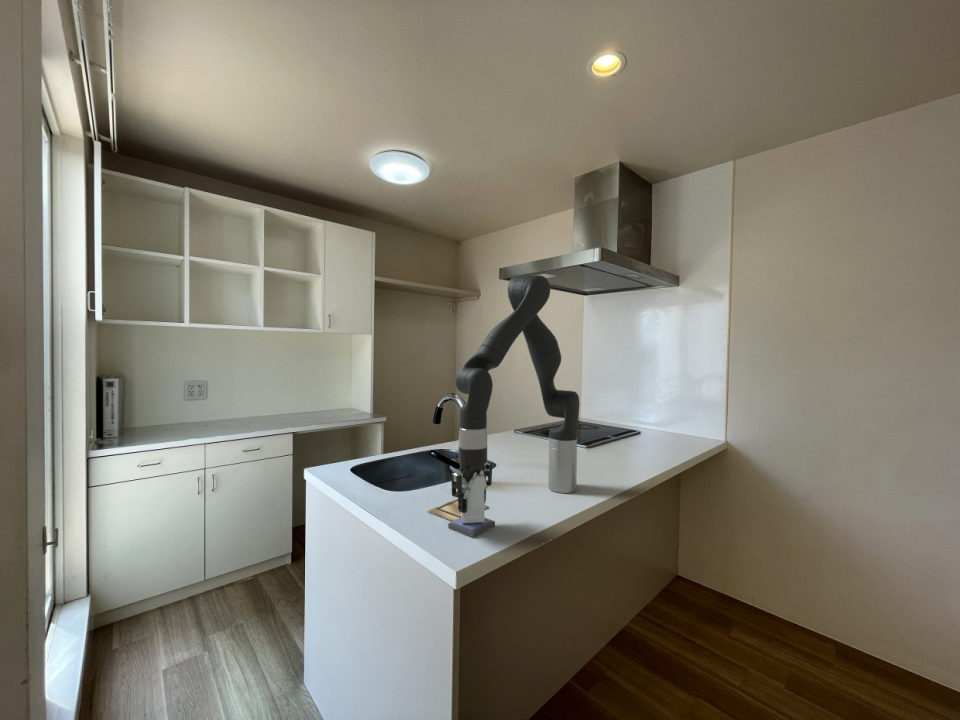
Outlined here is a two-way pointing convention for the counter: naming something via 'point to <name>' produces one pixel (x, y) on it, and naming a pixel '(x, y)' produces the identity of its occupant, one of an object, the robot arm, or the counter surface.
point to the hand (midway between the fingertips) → (472, 507)
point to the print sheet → (449, 510)
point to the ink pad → (471, 527)
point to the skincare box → (474, 501)
